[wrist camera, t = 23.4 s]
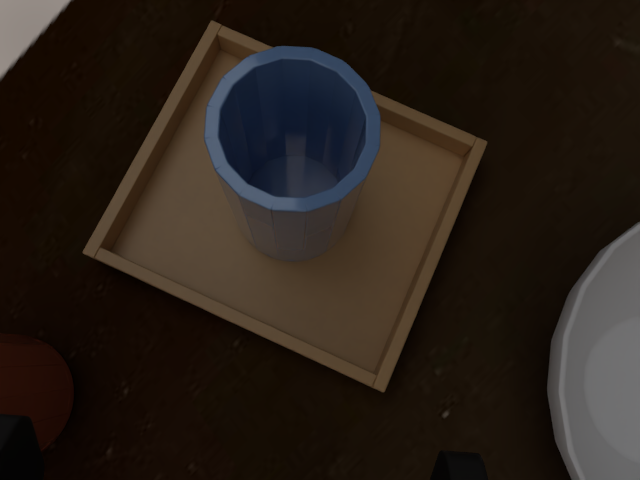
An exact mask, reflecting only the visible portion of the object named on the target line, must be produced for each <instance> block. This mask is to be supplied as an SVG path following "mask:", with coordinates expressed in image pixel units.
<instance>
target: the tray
mask: <svg viewBox="0 0 640 480" xmlns="http://www.w3.org/2000/svg"><path fill="white" fill-rule="evenodd" d="M271 48H273V47H270V46H268V45H266V44H263V43H261V42H259V41H257V40H254V39H252V38H250V37H248V36H245V35H243V34H241V33H238V32H236V31H234V30H232V29H229V28H227V27H225V26H222V25H221V24H218V23H216V22H214V21H211V22H210V24H209V26H208V28H207V29H206V31H205V33H204V35H203V37H202V38H201V40H200V42H199V44H198V45H197V47H196V49H195V51H194V53H193V54H192V56H191V58H190V60H189V62H188V63H187V65H186V67H185V69H184V71H183V72H182V74H181V76H180V78H179V80H178V81H177V83H176V85H175V87H174V89H173V90H172V92H171V94H170V96H169V98H168V99H167V101H166V103H165V105H164V107H163V108H162V110H161V112H160V114H159V116H158V117H157V119H156V121H155V123H154V125H153V126H152V128H151V130H150V132H149V134H148V135H147V137H146V139H145V141H144V143H143V144H142V146H141V148H140V150H139V152H138V153H137V155H136V157H135V159H134V161H133V162H132V164H131V166H130V168H129V170H128V171H127V173H126V175H125V177H124V179H123V180H122V182H121V184H120V186H119V188H118V189H117V191H116V193H115V195H114V197H113V198H112V200H111V202H110V204H109V206H108V207H107V209H106V211H105V213H104V215H103V216H102V218H101V220H100V222H99V224H98V225H97V227H96V229H95V231H94V233H93V234H92V236H91V238H90V240H89V242H88V243H87V245H86V247H85V249H84V251H83V254H85V255H87V256H89V257H91V258H93V259H96V260H98V261H100V262H102V263H104V264H106V265H108V266H111V267H113V268H115V269H117V270H119V271H121V272H123V273H126V274H128V275H130V276H132V277H134V278H136V279H139V280H141V281H143V282H145V283H147V284H149V285H152V286H154V287H156V288H158V289H160V290H162V291H165V292H167V293H169V294H171V295H173V296H175V297H177V298H180V299H182V300H184V301H186V302H188V303H190V304H193V305H195V306H197V307H199V308H201V309H203V310H206V311H208V312H210V313H212V314H214V315H216V316H218V317H221V318H223V319H225V320H227V321H229V322H231V323H234V324H236V325H238V326H240V327H242V328H244V329H247V330H249V331H251V332H253V333H255V334H257V335H260V336H262V337H264V338H266V339H268V340H270V341H272V342H275V343H277V344H279V345H281V346H283V347H285V348H288V349H290V350H292V351H294V352H296V353H298V354H301V355H303V356H305V357H307V358H309V359H311V360H314V361H316V362H318V363H320V364H322V365H324V366H326V367H329V368H331V369H333V370H335V371H337V372H339V373H342V374H344V375H346V376H348V377H350V378H352V379H355V380H357V381H359V382H361V383H363V384H365V385H367V386H370V387H372V388H374V389H376V390H378V391H381V392H385V390H386V388H387V385H388V383H389V380H390V378H391V375H392V373H393V371H394V368H395V366H396V363H397V361H398V359H399V356H400V354H401V351H402V349H403V346H404V344H405V342H406V339H407V337H408V334H409V332H410V329H411V327H412V325H413V322H414V320H415V317H416V315H417V312H418V310H419V308H420V305H421V303H422V300H423V298H424V295H425V293H426V291H427V288H428V286H429V283H430V281H431V278H432V276H433V274H434V271H435V269H436V266H437V264H438V262H439V259H440V257H441V254H442V252H443V249H444V247H445V245H446V242H447V240H448V237H449V235H450V232H451V230H452V228H453V225H454V223H455V220H456V218H457V215H458V213H459V211H460V208H461V206H462V203H463V201H464V198H465V196H466V194H467V191H468V189H469V186H470V184H471V182H472V179H473V177H474V174H475V172H476V169H477V167H478V165H479V162H480V160H481V157H482V155H483V152H484V150H485V148H486V145H487V141H485V140H482V139H480V138H476V137H475V136H473V135H471V134H469V133H466V132H464V131H462V130H460V129H457V128H455V127H453V126H450V125H448V124H446V123H444V122H441V121H439V120H437V119H434V118H432V117H430V116H428V115H425V114H423V113H421V112H419V111H416V110H414V109H412V108H409V107H407V106H405V105H403V104H400V103H398V102H396V101H393V100H391V99H389V98H387V97H384V96H382V95H380V94H377V93H375V92H373V91H371V90H370V91H371V93H372V95H373V98H374V100H375V103H376V105H377V107H378V110H379V112H380V116H381V128H380V149H379V152H378V154H377V156H376V159H375V161H374V164H373V166H372V169H371V171H370V173H369V176H368V178H367V181H366V183H365V185H364V188H363V190H362V193H361V195H360V198H359V200H358V202H357V205H356V207H355V210H354V212H353V214H352V217H351V219H350V221H349V223H348V226H347V228H346V230H345V232H344V234H343V236H342V237H341V238H340V240H339V241H338V242H337V243H336V244H335V245H334V246H333V247H332V248H331V249H330V250H328V251H327V252H325V253H324V254H322V255H320V256H318V257H316V258H313V259H310V260H307V261H300V262H287V261H281V260H276V259H274V258H271V257H268V256H267V255H265V254H263V253H261V252H260V251H258V250H257V249H256V248H255V247H254V246H252V245H251V244H250V243H249V241H248V240H247V239H246V238H245V236H244V235H243V234H242V232H241V230H240V228H239V226H238V223H237V221H236V219H235V216H234V214H233V212H232V209H231V207H230V205H229V202H228V200H227V198H226V195H225V193H224V191H223V188H222V186H221V184H220V181H219V179H218V177H217V174H216V172H215V170H214V167H213V164H212V161H211V159H210V156H209V153H208V150H207V147H206V145H205V142H204V127H205V115H206V107H207V104H208V102H209V100H210V98H211V96H212V94H213V93H214V91H215V89H216V87H217V85H218V83H219V81H220V80H221V78H223V76H224V75H225V74H226V73H227V72H229V71H230V70H231V69H232V68H234V67H235V66H236V65H237V64H239V63H240V62H241V61H242V60H243V59H245V58H246V57H248V56H249V55H252V54H255V53H258V52H262V51H265V50H268V49H271Z"/></svg>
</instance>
